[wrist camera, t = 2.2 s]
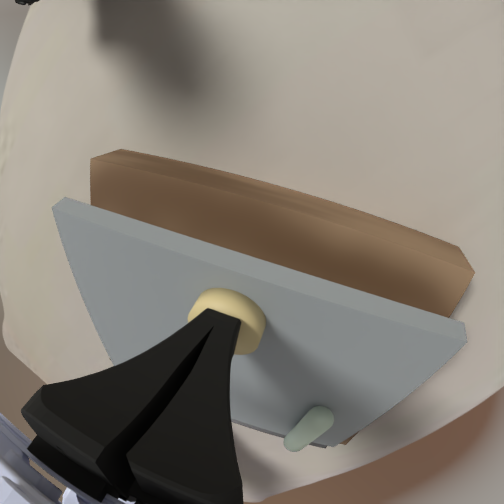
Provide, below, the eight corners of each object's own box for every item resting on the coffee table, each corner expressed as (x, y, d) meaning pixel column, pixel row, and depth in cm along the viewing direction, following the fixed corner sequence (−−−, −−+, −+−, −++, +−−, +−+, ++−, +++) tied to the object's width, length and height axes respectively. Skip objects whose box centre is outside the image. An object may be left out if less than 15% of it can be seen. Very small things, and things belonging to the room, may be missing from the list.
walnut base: (348, 417, 24) (345, 444, 22) (126, 339, 27) (110, 359, 25) (458, 247, 15) (475, 272, 13) (120, 149, 18) (90, 158, 16)
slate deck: (331, 439, 22) (325, 466, 20) (122, 363, 24) (108, 386, 23) (464, 322, 10) (471, 375, 8) (65, 196, 13) (29, 226, 11)
